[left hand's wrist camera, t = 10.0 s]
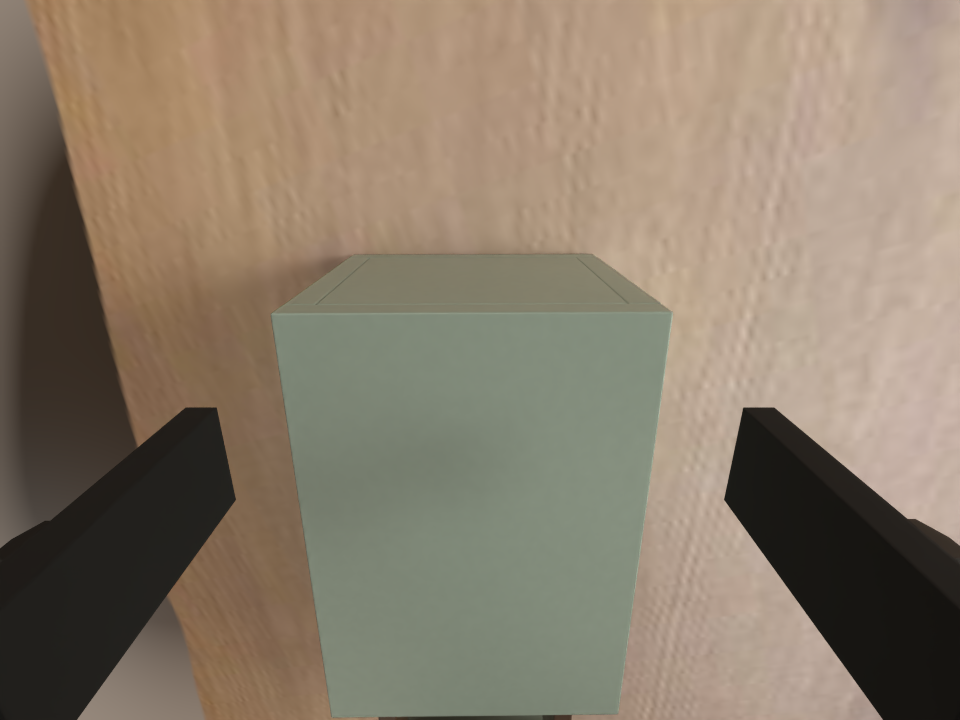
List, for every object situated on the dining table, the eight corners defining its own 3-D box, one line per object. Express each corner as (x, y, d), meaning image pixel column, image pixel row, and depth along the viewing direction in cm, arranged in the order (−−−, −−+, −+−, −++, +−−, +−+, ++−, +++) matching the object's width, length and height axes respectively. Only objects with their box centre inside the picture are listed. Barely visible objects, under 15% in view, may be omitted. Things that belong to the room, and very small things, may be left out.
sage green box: (571, 537, 30) (618, 715, 20) (377, 538, 30) (331, 718, 20) (593, 253, 24) (674, 311, 15) (352, 254, 24) (269, 313, 14)
